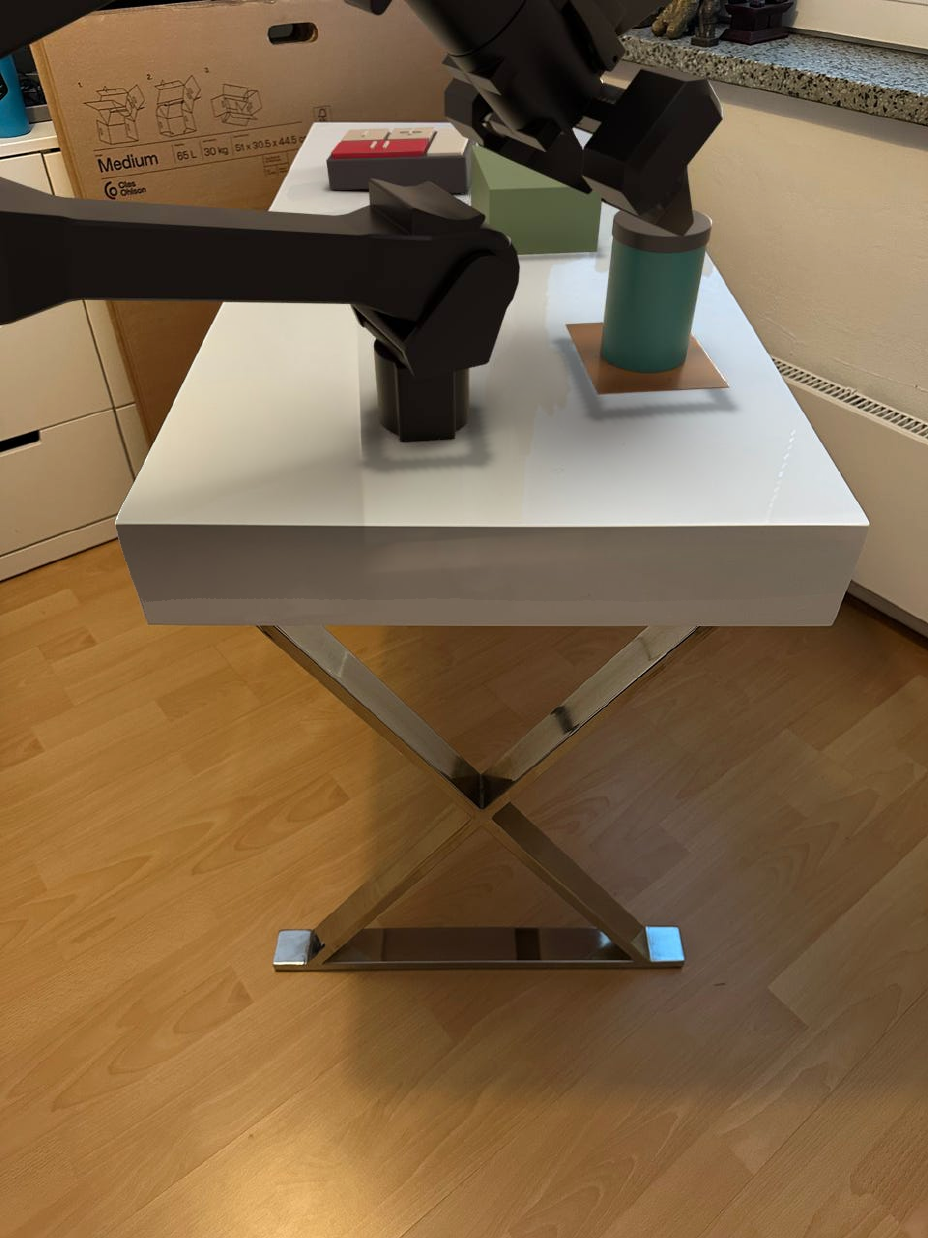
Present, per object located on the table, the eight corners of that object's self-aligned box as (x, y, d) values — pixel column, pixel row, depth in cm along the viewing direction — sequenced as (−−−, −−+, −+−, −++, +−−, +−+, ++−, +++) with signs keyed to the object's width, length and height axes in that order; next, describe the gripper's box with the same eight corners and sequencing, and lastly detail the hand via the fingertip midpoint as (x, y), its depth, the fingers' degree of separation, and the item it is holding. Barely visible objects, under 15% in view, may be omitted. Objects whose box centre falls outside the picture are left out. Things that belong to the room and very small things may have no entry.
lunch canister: (699, 371, 59) (725, 234, 53) (610, 375, 59) (626, 238, 53) (673, 332, 64) (695, 202, 58) (590, 336, 63) (603, 205, 57)
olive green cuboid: (596, 255, 79) (603, 185, 75) (488, 260, 79) (489, 189, 74) (567, 206, 90) (571, 142, 86) (470, 210, 89) (471, 145, 85)
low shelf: (726, 407, 59) (730, 386, 58) (595, 414, 58) (597, 393, 57) (679, 336, 67) (682, 317, 66) (563, 342, 66) (565, 323, 65)
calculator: (345, 126, 99) (475, 121, 98) (350, 167, 102) (477, 163, 100) (323, 152, 91) (465, 148, 90) (330, 196, 94) (467, 193, 92)
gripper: (735, -153, 34) (847, 125, 46) (490, -158, 46) (628, 64, 58) (557, 97, 37) (706, 301, 48) (367, 31, 49) (523, 208, 60)
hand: (637, 207), depth 54 cm, fingers open, 9 cm apart
